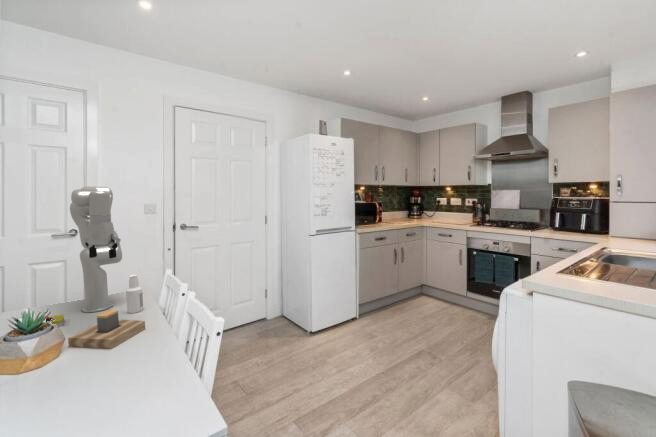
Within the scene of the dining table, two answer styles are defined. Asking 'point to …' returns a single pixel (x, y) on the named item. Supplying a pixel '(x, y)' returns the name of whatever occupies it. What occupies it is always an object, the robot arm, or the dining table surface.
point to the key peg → (107, 321)
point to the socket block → (106, 335)
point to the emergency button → (59, 320)
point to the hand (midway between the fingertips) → (103, 257)
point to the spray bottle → (134, 295)
